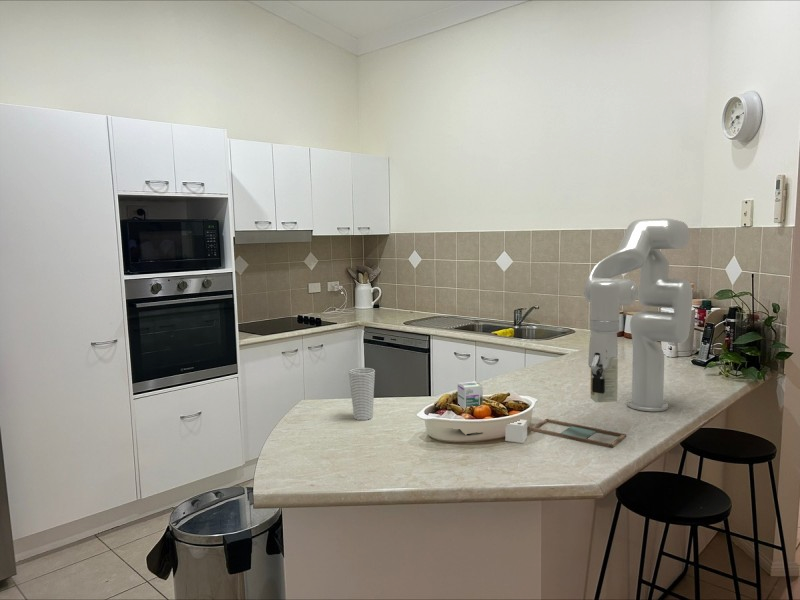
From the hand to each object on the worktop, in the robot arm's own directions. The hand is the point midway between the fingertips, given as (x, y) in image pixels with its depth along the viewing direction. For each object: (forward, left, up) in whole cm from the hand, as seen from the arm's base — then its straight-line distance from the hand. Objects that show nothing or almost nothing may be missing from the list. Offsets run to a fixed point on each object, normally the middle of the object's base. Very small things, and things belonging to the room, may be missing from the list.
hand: (603, 389), depth 160 cm
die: (+14, -19, -14) cm, 28 cm away
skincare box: (0, 0, -3) cm, 3 cm away
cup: (+25, -68, -15) cm, 74 cm away
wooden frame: (0, -7, -14) cm, 16 cm away
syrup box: (+16, -33, -15) cm, 40 cm away
